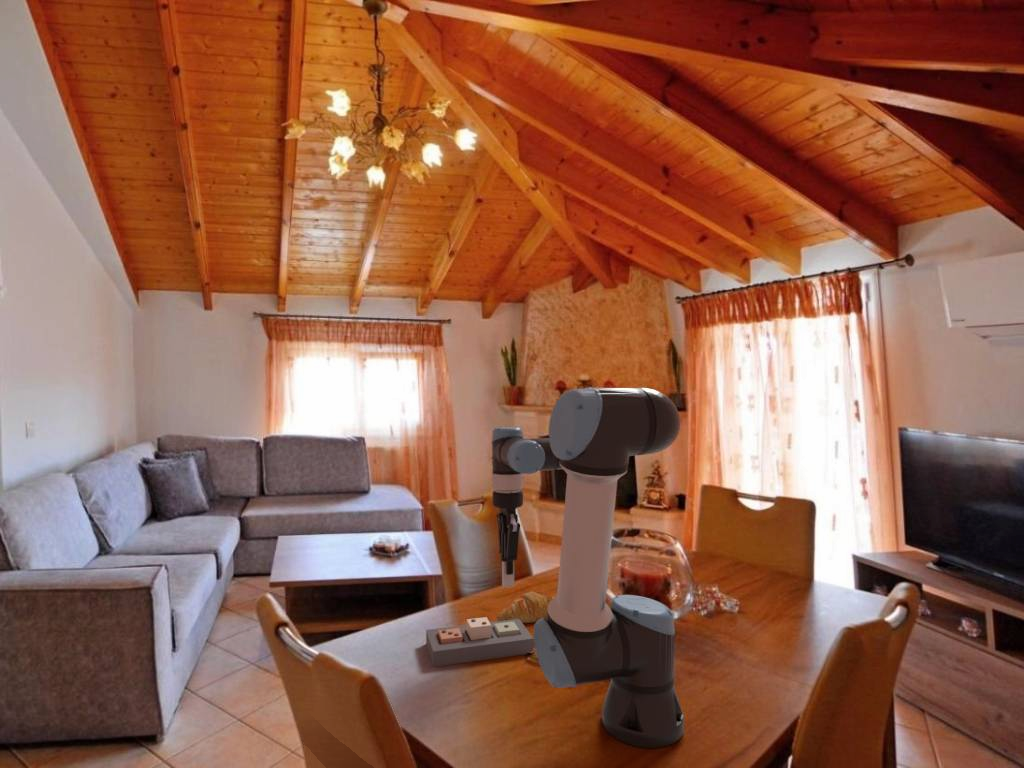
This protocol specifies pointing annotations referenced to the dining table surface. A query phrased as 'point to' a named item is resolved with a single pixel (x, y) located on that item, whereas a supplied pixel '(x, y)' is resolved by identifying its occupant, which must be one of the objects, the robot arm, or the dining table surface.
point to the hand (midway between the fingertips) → (508, 586)
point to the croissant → (527, 608)
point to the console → (478, 645)
